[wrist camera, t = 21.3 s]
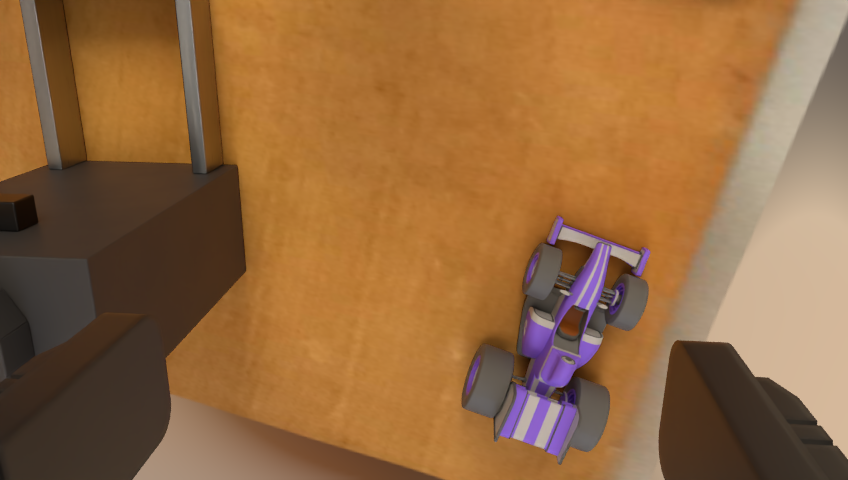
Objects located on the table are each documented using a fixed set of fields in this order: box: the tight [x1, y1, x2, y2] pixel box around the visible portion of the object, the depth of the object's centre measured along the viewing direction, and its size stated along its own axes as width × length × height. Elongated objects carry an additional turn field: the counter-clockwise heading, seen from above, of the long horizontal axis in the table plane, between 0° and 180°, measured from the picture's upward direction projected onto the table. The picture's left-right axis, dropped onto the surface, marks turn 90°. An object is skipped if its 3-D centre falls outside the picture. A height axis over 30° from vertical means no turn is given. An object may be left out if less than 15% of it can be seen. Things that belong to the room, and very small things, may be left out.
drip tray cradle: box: [0, 0, 223, 232], centre depth 39 cm, size 12×11×16 cm
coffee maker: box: [0, 161, 246, 382], centre depth 40 cm, size 8×13×21 cm, turn 90°
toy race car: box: [462, 216, 650, 465], centre depth 46 cm, size 10×15×6 cm, turn 161°
